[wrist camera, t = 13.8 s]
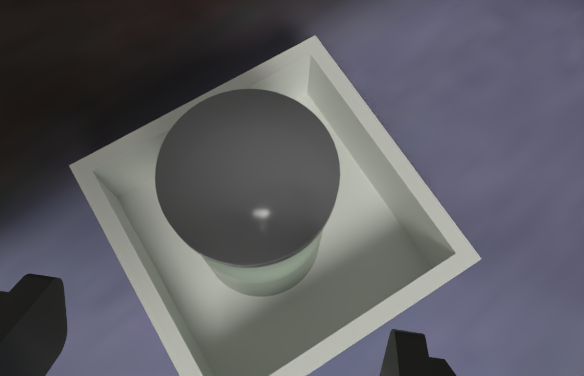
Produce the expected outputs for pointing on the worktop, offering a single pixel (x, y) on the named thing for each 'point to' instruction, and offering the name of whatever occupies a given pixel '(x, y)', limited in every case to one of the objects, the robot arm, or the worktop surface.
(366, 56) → the worktop surface
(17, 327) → the robot arm
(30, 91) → the worktop surface
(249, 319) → the tray
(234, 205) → the jar
